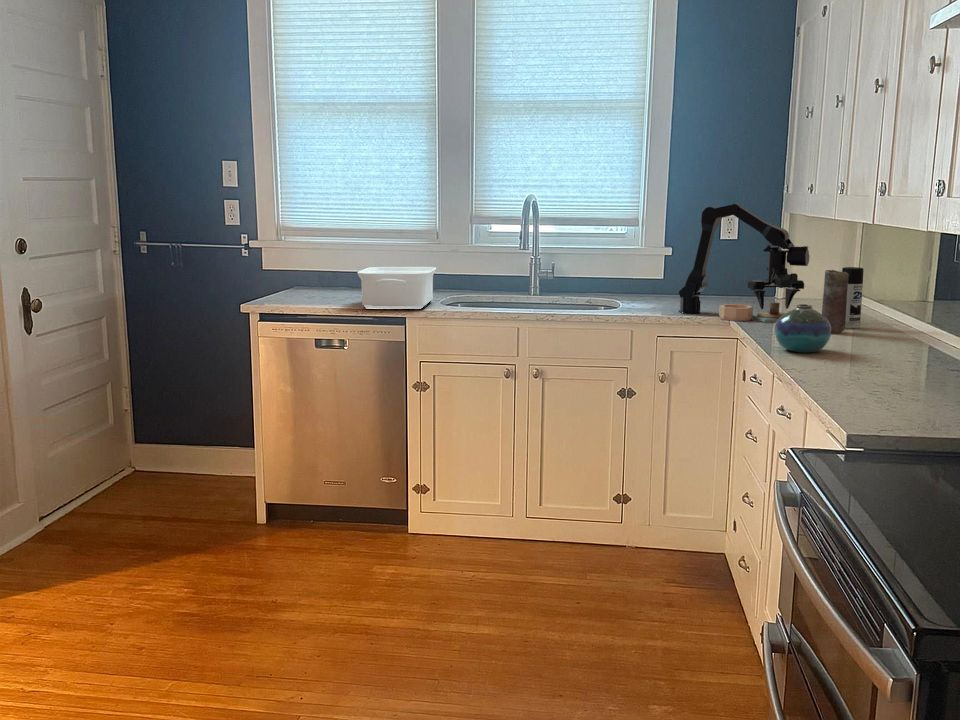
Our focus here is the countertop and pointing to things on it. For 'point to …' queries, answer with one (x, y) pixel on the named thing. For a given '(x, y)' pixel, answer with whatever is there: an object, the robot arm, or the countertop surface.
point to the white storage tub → (397, 286)
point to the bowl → (735, 312)
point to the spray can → (854, 297)
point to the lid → (772, 312)
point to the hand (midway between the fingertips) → (774, 308)
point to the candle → (835, 299)
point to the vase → (803, 330)
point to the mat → (763, 319)
